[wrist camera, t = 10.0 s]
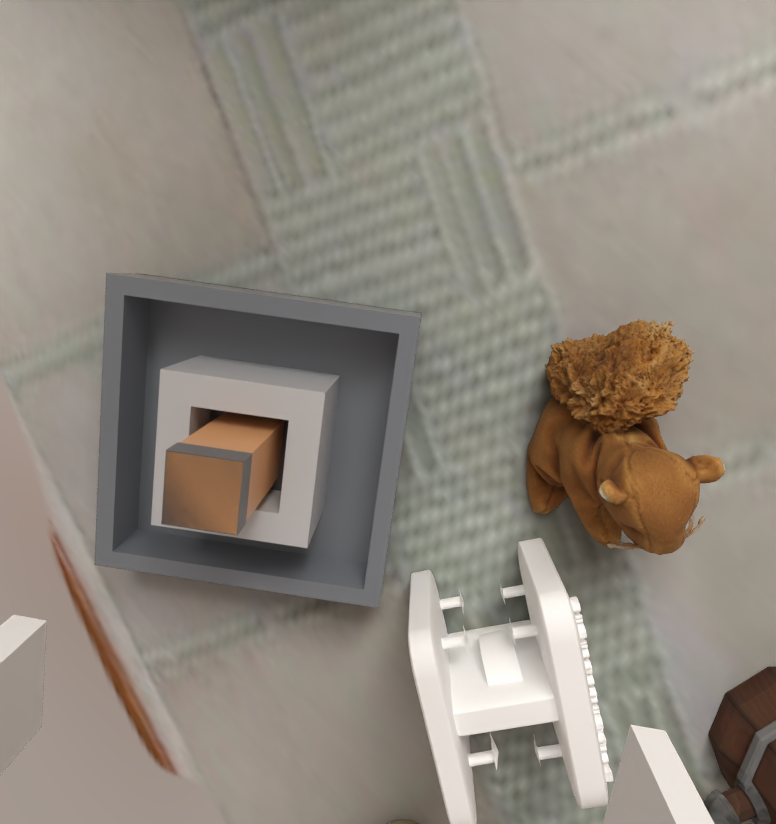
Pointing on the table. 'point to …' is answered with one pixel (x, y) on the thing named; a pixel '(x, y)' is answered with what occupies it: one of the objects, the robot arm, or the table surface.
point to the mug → (746, 752)
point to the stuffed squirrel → (618, 439)
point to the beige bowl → (402, 822)
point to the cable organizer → (507, 683)
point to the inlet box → (266, 397)
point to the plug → (221, 473)
